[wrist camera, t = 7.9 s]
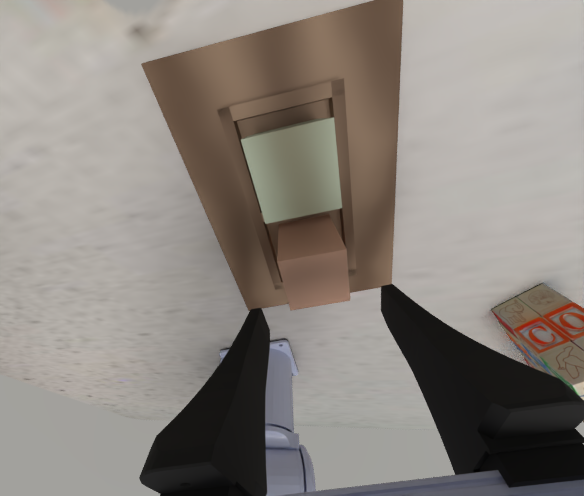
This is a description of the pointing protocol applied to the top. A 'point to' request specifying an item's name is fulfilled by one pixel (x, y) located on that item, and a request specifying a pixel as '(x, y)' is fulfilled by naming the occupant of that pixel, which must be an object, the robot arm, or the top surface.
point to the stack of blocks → (547, 333)
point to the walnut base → (281, 96)
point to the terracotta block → (312, 262)
